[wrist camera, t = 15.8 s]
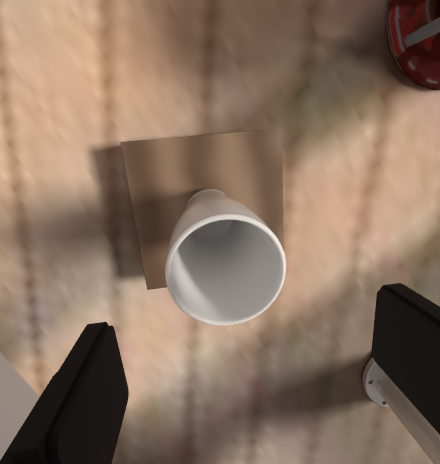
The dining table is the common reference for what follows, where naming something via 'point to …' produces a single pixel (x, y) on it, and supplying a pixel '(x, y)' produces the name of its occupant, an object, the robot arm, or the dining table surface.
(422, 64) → the hourglass
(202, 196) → the white tapered cylinder
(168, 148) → the walnut block
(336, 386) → the dining table surface
